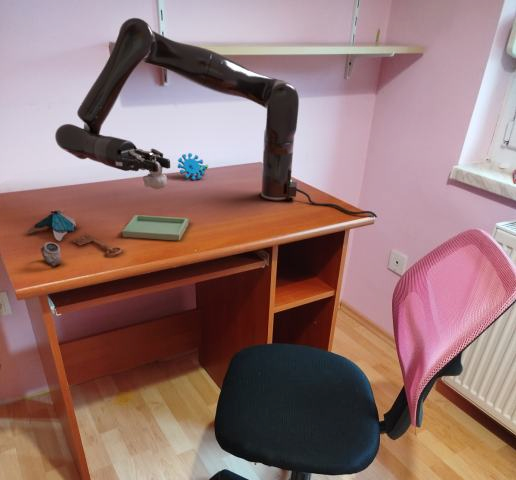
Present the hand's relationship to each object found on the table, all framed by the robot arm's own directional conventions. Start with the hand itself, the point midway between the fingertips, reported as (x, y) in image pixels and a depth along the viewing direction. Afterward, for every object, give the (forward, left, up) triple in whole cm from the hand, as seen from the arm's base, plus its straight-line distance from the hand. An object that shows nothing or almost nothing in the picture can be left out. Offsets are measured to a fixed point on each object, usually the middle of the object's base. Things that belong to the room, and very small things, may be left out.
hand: (163, 165), depth 120 cm
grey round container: (+22, +23, -18) cm, 36 cm away
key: (+15, +13, -17) cm, 26 cm away
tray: (+3, -1, -17) cm, 18 cm away
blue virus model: (+3, -50, -18) cm, 53 cm away
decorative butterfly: (+29, +5, -17) cm, 34 cm away
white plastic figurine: (+3, -1, -6) cm, 7 cm away
